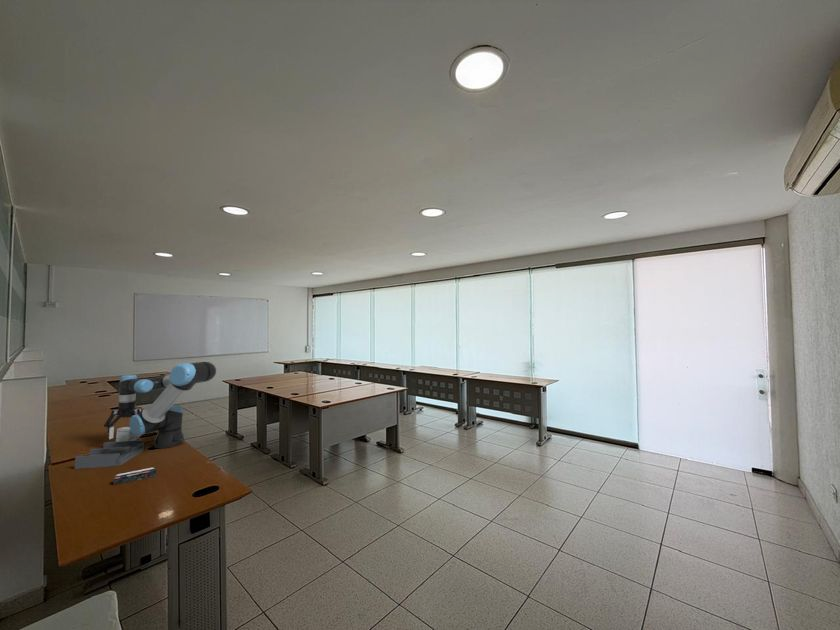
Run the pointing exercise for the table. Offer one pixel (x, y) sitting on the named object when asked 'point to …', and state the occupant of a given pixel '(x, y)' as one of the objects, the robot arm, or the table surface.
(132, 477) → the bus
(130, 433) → the ink box
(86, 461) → the rack
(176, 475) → the table surface
